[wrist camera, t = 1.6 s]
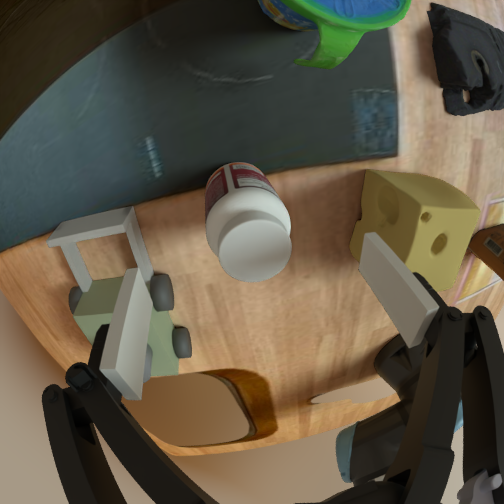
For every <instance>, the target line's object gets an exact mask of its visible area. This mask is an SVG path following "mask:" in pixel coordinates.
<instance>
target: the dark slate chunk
mask: <svg viewBox="0 0 504 504" xmlns="http://www.w3.org/2000/svg"><path fill="white" fill-rule="evenodd" d="M431 7H432V9H431V11H427V14H428V17H429V21H430V25H431V29H432V32H433V43H432V47H433V52H434V58H435V62H436V68H437V74H438V79H439V81H440V82H441V88H443V97H446V106H447V111H448V112H449V113H451V114H452V115H455V116H457V115H460V116H465V115H468V114H475V113H478V112H482V111H485V110H489V109H490V110H492V111H494V110H501V109H503V108H504V32H503V31H501V30H500V29H497V28H494V27H493V26H492V25H489V24H488V23H485V22H484V21H482V20H480V19H478V18H476V17H473V16H471V15H468V14H465V13H463V12H459V11H457V10H454V9H451V8H448V7H445V6H443V5H439V4H436V3H431ZM463 89H464V90H465V91H467V90H469V92H470V97H471V99H470V101H469V102H468V103H466V102H464V99H463Z"/></svg>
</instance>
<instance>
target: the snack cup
mask: <svg viewBox="0 0 504 504" xmlns="http://www.w3.org/2000/svg"><path fill="white" fill-rule="evenodd" d="M258 2H259V5H260V6H261V8H262V11H263V12H264V13H265V14H267V15H268V16H269V17H270V18H271V19H272V20H274V21H275V22H277V23H279V24H280V25H282V26H284V27H287V28H290V29H293V30H298V31H318V30H319V36H320V42H319V44H318V46H317V48H316V50H315V52H314V55H313V57H312V59H311V60H304V59H295V60H294V63H295V64H298V65H302V66H310V67H318V68H323V69H332V68H333V67H336V66H337V65H338V64H339V63H341V62H342V61H343V60H344V59H346V58H347V56H348V55H349V54H350V53H351V52H352V51H353V49H354V48H355V46H356V45H357V44H358V42H359V40H360V38H361V37H362V35H363V34H364V33H365V32H368V31H375V30H379V29H383V28H387V27H389V26H392V25H394V24H396V23H397V22H399V21H400V20H402V19H403V18H404V17H405V15H406V13H407V11H408V9H409V7H410V4H411V0H258Z"/></svg>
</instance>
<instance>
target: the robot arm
mask: <svg viewBox="0 0 504 504" xmlns="http://www.w3.org/2000/svg"><path fill="white" fill-rule="evenodd" d="M358 270H359V272H360V273H361V274H362V276H363V277H364V279H365V280H366V282H367V283H368V285H369V286H370V288H371V289H372V291H373V292H374V294H375V295H376V297H377V298H378V300H379V301H380V303H381V304H382V306H383V307H384V309H385V310H386V312H387V313H388V315H389V317H390V318H391V320H392V321H393V323H394V325H395V326H396V328H397V329H398V331H399V333H400V335H398V336H397V337H395V338H394V339H393V340H392V341H390V342H389V343H388V344H387V345H386V346H385V347H384V348H383V349H382V350H381V351H380V353H379V354H378V356H377V357H376V359H375V362H374V366H375V368H376V370H377V372H378V374H379V376H380V377H382V378H383V379H384V380H385V381H386V382H387V383H388V384H389V385H390V386H391V387H392V388H393V389H394V390H395V391H396V392H397V394H398V396H399V398H400V402H398V403H396V404H394V405H393V406H391V407H389V408H387V409H385V410H383V411H381V412H379V413H377V414H375V415H373V416H371V417H369V418H366V419H364V420H362V421H358V422H356V423H355V424H354V425H352V426H349V427H348V428H345V429H343V430H342V431H341V432H339V434H338V436H337V439H336V457H337V463H338V468H339V471H340V472H341V477H342V479H343V481H344V482H347V483H348V482H349V483H351V482H353V484H354V487H352V488H350V489H347V490H345V491H342V492H339V493H337V494H335V495H333V496H331V497H330V498H328V499H326V500H324V501H322V502H320V503H295V504H442V503H440V501H441V499H442V496H443V493H444V490H445V488H446V485H447V482H448V478H449V475H450V472H451V469H452V465H453V461H454V456H455V455H454V451H452V450H451V443H452V439H453V434H454V433H455V432H456V431H457V430H458V429H459V428H460V427H462V426H463V437H464V438H463V480H464V485H463V487H462V489H460V490H459V492H458V493H457V499H459V500H460V502H459V504H504V352H503V348H502V345H501V341H500V338H499V334H498V331H497V328H496V325H495V322H494V319H493V316H492V314H491V312H490V311H489V310H488V308H486V307H484V306H477V307H475V309H474V310H473V312H472V313H462V312H461V311H460V310H459V309H457V308H455V307H451V306H450V307H448V306H447V305H446V303H445V302H444V301H443V300H442V298H441V297H440V296H439V295H438V293H437V292H436V291H435V290H434V289H433V287H432V286H431V285H430V284H429V283H428V281H427V280H426V279H425V278H424V277H423V276H422V275H420V274H419V273H417V272H413V273H412V272H411V271H410V270H409V269H408V268H407V266H406V265H405V264H404V263H403V262H402V261H401V260H400V258H399V257H398V256H397V255H396V254H395V253H394V252H393V251H392V249H391V248H390V247H389V246H388V245H387V244H386V243H385V242H384V241H383V240H382V239H381V238H380V236H379V235H378V234H377V233H376V232H371V233H365V234H364V241H363V247H362V253H361V259H360V264H359V269H358ZM152 306H153V302H152V299H151V297H150V295H149V292H148V290H147V287H146V285H145V282H144V280H143V277H142V275H141V272H140V269H139V267H138V268H131V269H126V272H125V275H124V279H123V282H122V285H121V288H120V291H119V294H118V298H117V301H116V305H115V308H114V311H113V315H112V319H111V322H110V324H102V325H101V326H100V328H99V329H98V331H97V332H96V335H95V339H94V342H93V346H92V350H91V354H90V358H89V362H88V365H87V364H86V363H82V362H79V363H75V364H73V365H72V366H71V367H70V368H69V369H68V370H67V372H66V376H65V379H66V383H67V384H68V385H69V386H70V387H68V388H65V389H62V388H60V387H59V386H58V385H56V384H52V385H50V386H48V387H46V388H45V390H44V391H43V394H42V404H43V411H44V417H45V422H46V427H47V431H48V437H49V441H50V445H51V449H52V453H53V457H54V460H55V464H56V467H57V471H58V474H59V477H60V480H61V483H62V486H63V489H64V492H65V494H66V497H67V500H68V502H69V504H127V502H126V501H125V499H124V497H123V495H122V493H121V491H120V489H119V487H118V485H117V483H116V481H115V478H114V476H113V474H112V472H111V469H110V467H109V465H108V462H107V460H106V458H105V455H104V452H103V450H102V447H101V444H100V442H99V439H98V436H97V433H96V430H95V427H94V424H95V426H96V427H97V429H98V430H99V432H100V434H101V435H102V437H103V438H104V440H105V441H106V442H107V444H108V445H109V447H110V448H111V450H112V451H113V452H114V454H115V455H116V457H117V458H118V459H119V461H120V462H121V463H122V465H123V466H124V467H125V468H126V470H127V471H128V472H129V473H130V474H131V476H132V477H133V478H134V480H135V481H136V482H137V483H138V484H139V485H140V487H141V488H142V489H143V490H144V491H145V492H146V493H147V494H148V496H149V497H150V498H151V499H152V500H153V501H154V502H155V503H156V504H219V503H218V502H217V501H215V500H214V499H213V498H212V497H211V496H209V495H208V494H207V493H206V492H205V491H203V490H202V489H201V488H200V487H198V485H197V484H195V483H194V482H193V481H192V480H191V479H190V478H189V477H188V476H187V475H186V474H185V473H184V472H182V470H180V468H179V467H178V466H177V465H175V463H173V461H172V460H171V459H170V458H168V456H167V455H166V454H165V453H164V452H163V451H162V450H161V449H160V448H159V447H158V446H157V444H156V443H155V442H154V441H153V440H152V439H151V438H150V437H149V435H148V434H147V433H146V432H145V431H144V429H143V428H142V427H141V426H140V425H139V423H138V422H137V421H136V420H135V419H134V417H133V416H132V415H131V413H130V412H129V411H128V410H127V408H126V407H125V406H124V404H123V403H122V402H121V398H122V395H123V396H124V397H125V399H127V400H141V399H142V386H143V375H144V365H145V356H146V348H147V340H148V333H149V325H150V319H151V312H152ZM476 344H477V345H476ZM93 423H94V424H93Z"/></svg>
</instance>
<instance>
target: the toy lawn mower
mask: <svg viewBox="0 0 504 504" xmlns="http://www.w3.org/2000/svg"><path fill="white" fill-rule="evenodd" d="M124 232H126V234H127V237H128V240H129V243H130V246H131V249H132V252H133V255H134V257H135V260H136V263H137V266H138V267H139V269H140V272H141V275H142V277H143V280H144V282H145V285H146V287H147V290H148V292H149V295H150V297H151V299H152V302H153V306H152V312H151V319H150V325H149V333H148V340H147V348H146V356H145V365H144V375H143V383H145V382H146V381H148V380H149V379H150V376H167V375H178V366H179V358H189V357H191V356H192V345H191V339H190V334H189V331H188V329H187V328H179V329H175V327H174V325H173V323H172V320H171V318H170V315H169V313H168V311H169V310H173V308H174V293H173V287H172V283H171V280H170V277H169V275H168V274H163V275H156V276H155V275H154V271H153V268H152V265H151V262H150V259H149V256H148V253H147V250H146V247H145V244H144V241H143V238H142V234H141V231H140V228H139V225H138V221H137V218H136V214H135V211H134V207H133V206H129V207H124V208H120V209H115V210H110V211H106V212H102V213H97V214H93V215H89V216H84V217H80V218H76V219H72V220H68V221H64V222H61V224H60V225H59V226H58V227H57V228H56V229H55V231H54V232H53V233H52V234H51V235H50V237H49V238H48V239H47V240H46V242H47V245H48V247H49V248H51V247H55V246H61V249H62V251H63V253H64V255H65V258H66V260H67V262H68V264H69V266H70V268H71V270H72V272H73V274H74V276H75V278H76V280H77V282H78V284H79V286H75V287H73V288H72V289H71V290H70V293H69V307H70V310H71V312H72V314H73V318H74V319H75V321H76V322H77V324H78V325H79V327H80V329H81V330H82V332H83V333H84V334H85V336H86V337H87V339H88V340H89V342H90V343H91V345H92V346H93V342H94V339H95V335H96V332H97V331H98V329H99V328H100V326H101V325H102V324H110V322H111V319H112V315H113V311H114V308H115V305H116V301H117V298H118V294H119V291H120V288H121V285H122V282H123V279H124V277H118V278H110V279H103V280H96V281H92V278H91V276H90V274H89V272H88V270H87V268H86V266H85V263H84V261H83V259H82V257H81V254H80V252H79V250H78V247H77V245H76V242H78V241H83V240H88V239H93V238H98V237H103V236H108V235H113V234H119V233H124Z"/></svg>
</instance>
